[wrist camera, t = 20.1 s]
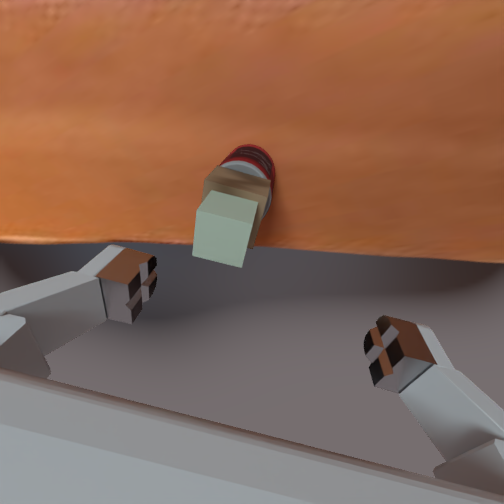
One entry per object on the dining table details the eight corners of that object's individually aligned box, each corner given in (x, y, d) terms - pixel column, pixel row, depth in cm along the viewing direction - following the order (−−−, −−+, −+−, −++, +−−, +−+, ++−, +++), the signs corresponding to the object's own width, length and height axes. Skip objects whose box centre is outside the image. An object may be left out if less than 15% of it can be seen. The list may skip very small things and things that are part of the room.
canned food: (233, 200, 40) (218, 233, 31) (218, 150, 36) (195, 170, 27) (279, 191, 38) (277, 222, 29) (269, 137, 34) (262, 154, 25)
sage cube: (258, 202, 23) (252, 224, 19) (248, 241, 25) (241, 267, 22) (211, 190, 23) (196, 210, 19) (206, 230, 25) (192, 255, 22)
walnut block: (270, 180, 27) (267, 197, 22) (257, 227, 30) (252, 249, 26) (217, 165, 26) (204, 179, 22) (209, 214, 30) (197, 234, 26)
